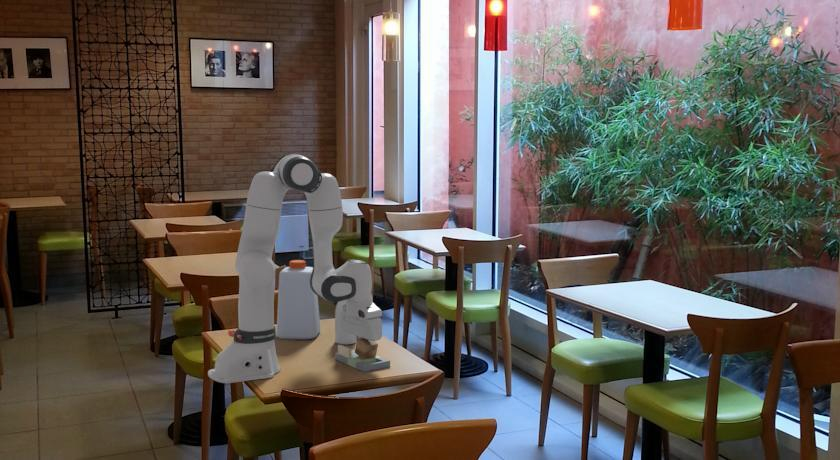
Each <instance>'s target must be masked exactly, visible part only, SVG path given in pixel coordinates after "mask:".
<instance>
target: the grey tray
mask: <svg viewBox="0 0 840 460" xmlns="http://www.w3.org/2000/svg"><path fill="white" fill-rule="evenodd" d="M334 360H336V361H339V362H341V363H343V364H346V365H347V366H350V367H352V368H354V369H357V370H358V371H361V372H364V373H366V372H371V370H372V371H376V370H380V369H381V370H382V369H385V367H386V368H390V367H391V360H389V359H386V358H385V357H381V356H379V355H377V354H376V357H374V358H369V359H364V360H363V359H362V358H361V357H359V356H358V355H357V354H356V353H355V349H352V348H351V347H348V346H345V345H342V344H337V352H336V353H334Z"/></svg>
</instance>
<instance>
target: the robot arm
mask: <svg viewBox="0 0 840 460" xmlns="http://www.w3.org/2000/svg"><path fill="white" fill-rule="evenodd" d="M289 190H293V191H296V192H302V193H304V195H305V197H306V201H307V212H308V213H307V215H308V221H309V225H310V232H311V238H312V239H311V240H312V255H313V256H312V259H313V266H312V267H313V271H312V274H311V277H310V287H311V289H312V291H313V292H314V293H315V294H316V295H318V297H320V298H322V299H324V300H325V301H327V302H330V303H338V302H340V301H343V300H346V304H344V305H343V306H342V311H341V313H340V329H341V330H342V331H344V332H347V333H350V334H353V335H355V340H356V343H357V339H360V338H365V339H367V340H370V341H375V342H377V341H380V340H381V339H382V338H383V337H382V336H383V322H382V319H381V317H382V316H383V311H382V309H381V308H380V307H378V306H377V305H376V303H374V302H373V295H372V288H373V279H372V269H371V266H370V264H369V263H367V262H366V261H364V260H361V259H347V260H346V261H345V262H344V264H342V265H341V266H340V267H338V268H335V267H334V264H333V239H334V236H335V235H336V234H337V233H338V232H339V231H340V230H341V229H342V227H343V220H344V218H343V217H344V212H343V201H342V195H341V190H340V187H339V183H338V180H337V178H336V177H335V176H334V175H332V174H331V173H326V172H323V173H322V172H320V170H319V169H318V167H317V166H316V164H315V163H314V162H313V161H312V160H311V159H310V158H308V157H306V156H305V155H302V154H300V153H287V154H285V155H283V156H282V157H280V158H279V159H278V160H277V161H276V163H275V164H274V165H273V167H272V168H271V169H270V171H260V172H258V173H256V174H255V175H254V176H253V178H252V181H251V183H250V186H249V190H248V192H247V193H248V194H247V198H246V204H245V212H244V217H243V225H242V230H241V235H240V237H239V238H240V239H239V243H238V246H237V248H238V249H237V253H236V258H235V271H236V272H237V274H238V278H239V280H238V281H239V284H238V285H239V287H238V302H237V306H238V307H237V308H238V309H237V313H238V328H237V329H236V330H233V329H229V330H228V329H227V330H228V331H227V335H228V336H229V337H232V338H233V340H232V341H231V343H229V344H228V345H227V346H226V347H225V348H224V349H222V351H220V352H219V353H218V354H217V355H216V357H215V363H214V368H211V369H209V370H208V371H207V377H208V378H210V379H211V380H212V381H215V382H217V383H221V384H232V383H233V384H234V383H240V382H249V381H257V380H264V379H271V378H273V377H274V376H275V374H277V373H279V372H280V371H281V367H280V365H279V360H278V354H277V351H276V349H277V348H276V343H277V341H276V340H277V335H276V331H277V329H276V326H275V309H274V307H275V306H274V302H275V301H274V300H275V290H276V266H275V262H274V261H273V260H272V259H273V258H272V257H273V253H274V249H275V245H276V241H277V237H278V235H279V231H280V224H281V217H282V209H283V202H284V200H283V199H284V197H285V195H286V193H287V192H288V191H289Z"/></svg>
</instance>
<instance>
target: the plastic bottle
mask: <svg viewBox="0 0 840 460" xmlns="http://www.w3.org/2000/svg"><path fill="white" fill-rule="evenodd" d="M306 263H307V262H306V261H305V260H302V259H293V260H290V261H289V263H288V264H289V265H288V266H285V267H284V268H283V269H281V270H280V272H279V276H278V296H277V311H276V313H277V314H276V317H277V318H276V338H278V339H280V340H290V339H291V340H295V341H296V340H299V341H300V340H301V341H302V340H303V341H304V340H306V341H307V340H313V339H315V338H316V337H318V335H319V333H320V332H321V321H320V310H319V309H320V308H319V298H318V297H319V296H318V295H316V294H315V293H314V292H313V291H312V289H311V287H310V277H311V274H312V271H313V266H307V264H306Z"/></svg>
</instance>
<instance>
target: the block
mask: <svg viewBox="0 0 840 460" xmlns="http://www.w3.org/2000/svg"><path fill="white" fill-rule="evenodd" d="M355 344H356V345H355V349H354V350H355V353H356V354H357V355H358V356H359V357H361V358H362V359H363V360H364V359H369V358H374V357H376V355H377V352H378V345H379V343H378V342H377V341H370V340H367V339H365V338H360V339H357V342H356V343H355Z"/></svg>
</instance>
